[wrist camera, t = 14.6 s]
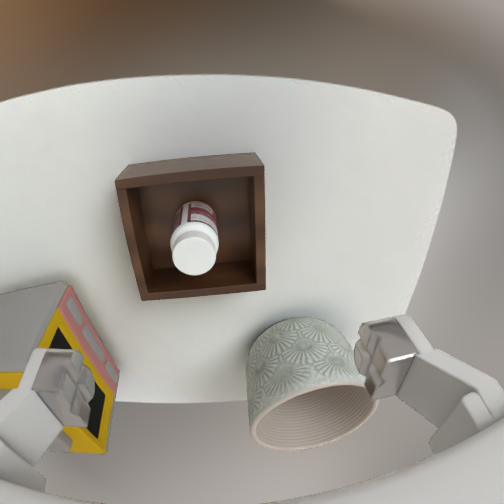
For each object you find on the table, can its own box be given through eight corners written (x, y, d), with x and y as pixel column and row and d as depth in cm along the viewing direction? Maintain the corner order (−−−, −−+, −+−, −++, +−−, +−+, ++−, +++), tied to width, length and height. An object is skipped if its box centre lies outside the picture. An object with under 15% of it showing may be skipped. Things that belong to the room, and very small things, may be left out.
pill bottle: (187, 244, 37) (184, 286, 30) (167, 211, 35) (157, 247, 28) (223, 227, 37) (229, 266, 30) (204, 192, 35) (205, 224, 27)
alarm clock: (126, 367, 47) (112, 467, 32) (52, 372, 47) (27, 458, 31) (73, 268, 38) (20, 375, 22) (-4, 286, 37) (-59, 373, 21)
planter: (348, 290, 45) (394, 367, 32) (335, 365, 54) (364, 435, 41) (232, 307, 44) (245, 398, 31) (241, 381, 52) (253, 459, 39)
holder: (128, 165, 32) (114, 180, 27) (255, 152, 34) (264, 165, 29) (148, 272, 39) (141, 301, 34) (258, 263, 41) (265, 289, 36)
